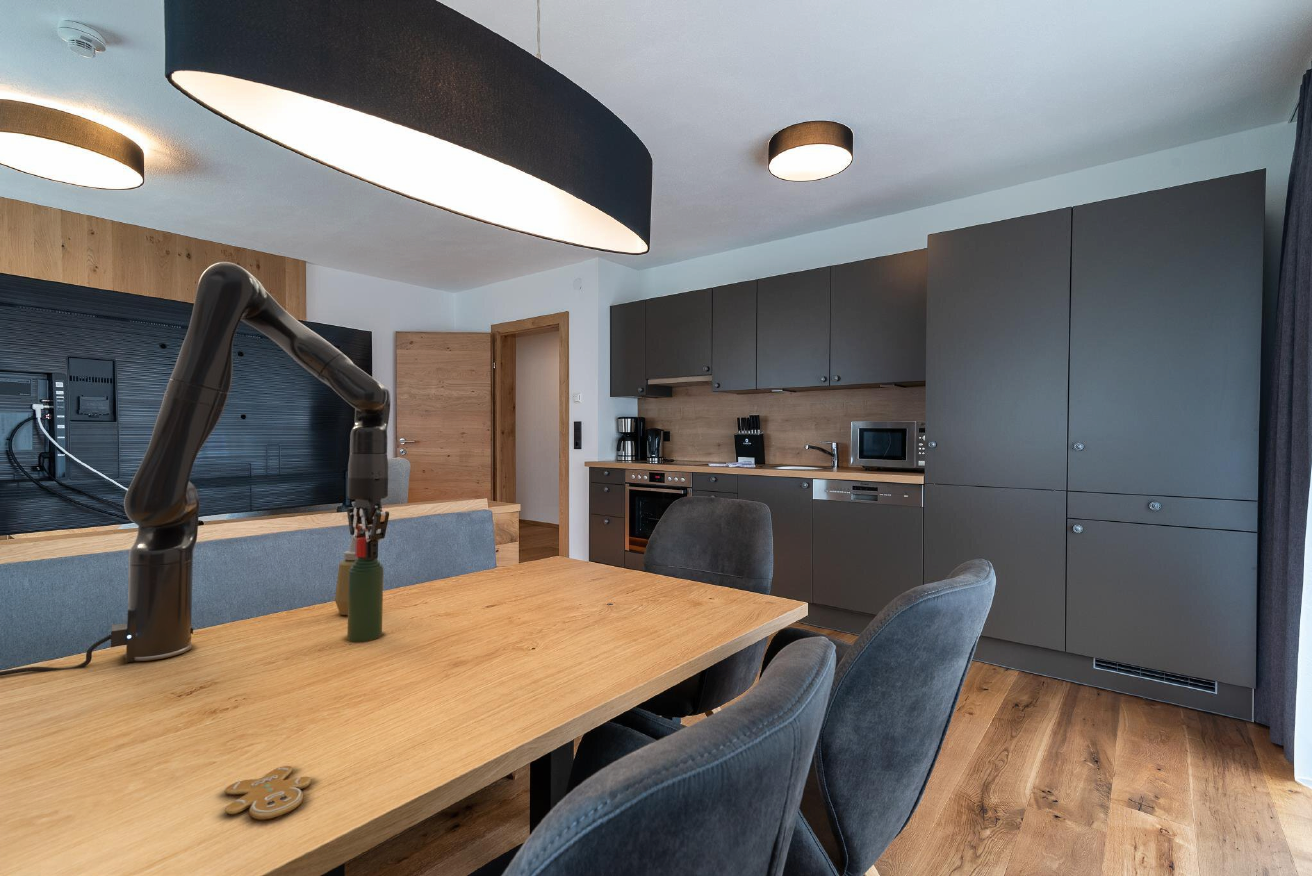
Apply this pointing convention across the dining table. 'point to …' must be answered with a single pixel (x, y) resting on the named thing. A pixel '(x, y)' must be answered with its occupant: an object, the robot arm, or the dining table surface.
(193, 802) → the dining table surface
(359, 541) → the cap
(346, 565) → the squeeze bottle
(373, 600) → the sauce bottle
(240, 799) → the cookie
